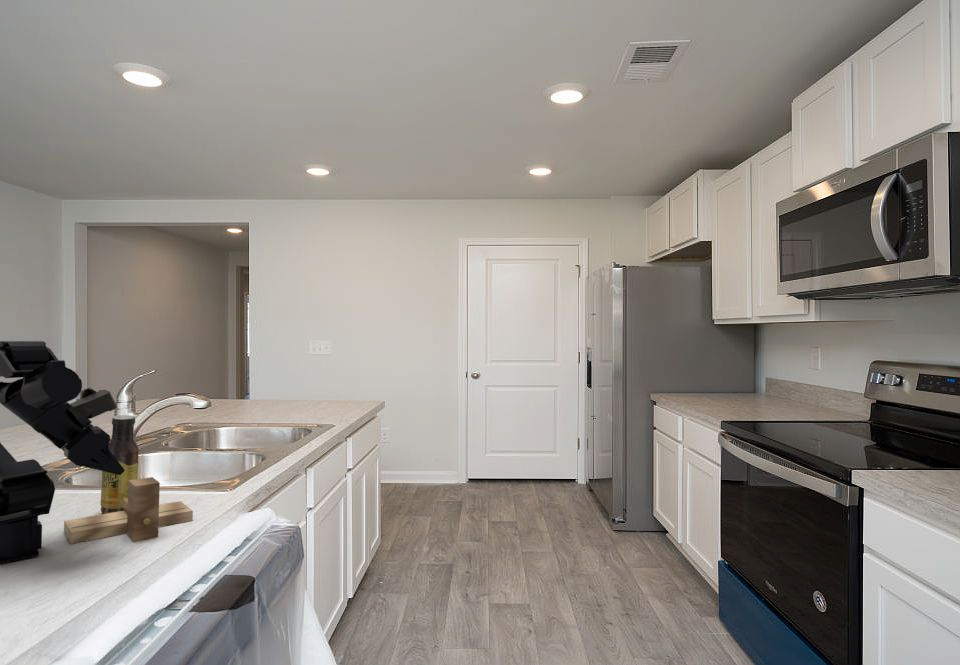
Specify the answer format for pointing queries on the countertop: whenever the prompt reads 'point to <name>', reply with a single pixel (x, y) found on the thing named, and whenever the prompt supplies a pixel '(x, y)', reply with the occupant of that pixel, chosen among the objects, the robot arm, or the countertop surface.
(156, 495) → the gauge
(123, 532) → the board
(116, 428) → the sauce bottle
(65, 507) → the countertop surface
